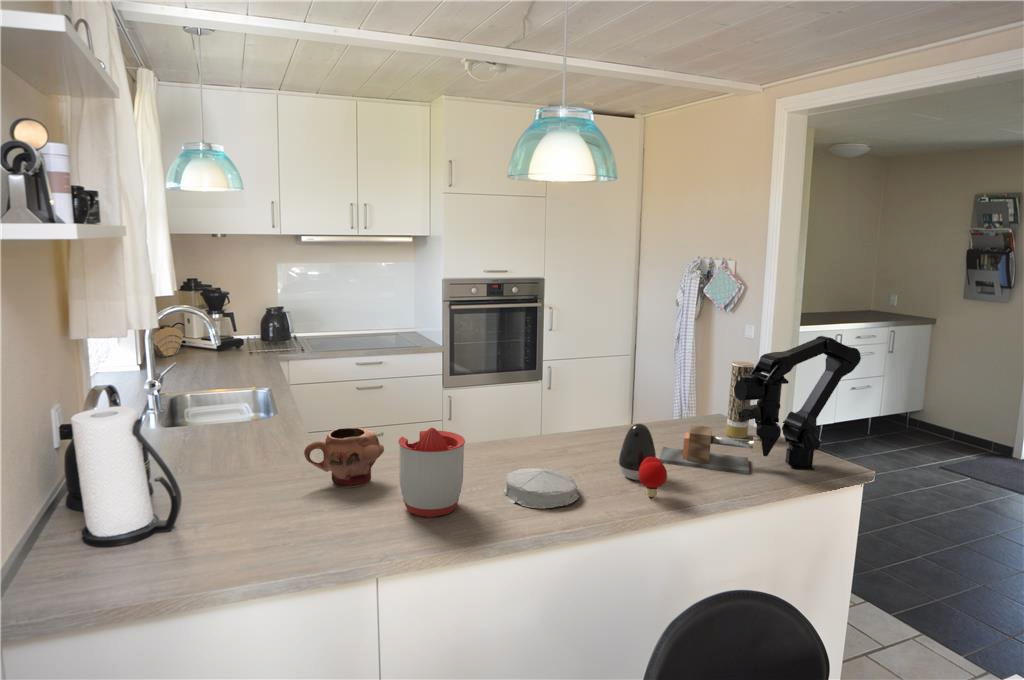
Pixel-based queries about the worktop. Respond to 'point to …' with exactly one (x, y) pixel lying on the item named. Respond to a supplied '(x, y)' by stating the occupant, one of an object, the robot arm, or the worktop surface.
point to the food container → (540, 488)
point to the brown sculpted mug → (348, 455)
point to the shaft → (739, 443)
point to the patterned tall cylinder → (737, 402)
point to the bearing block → (704, 454)
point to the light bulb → (652, 475)
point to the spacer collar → (686, 446)
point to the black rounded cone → (635, 450)
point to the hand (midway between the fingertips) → (764, 451)
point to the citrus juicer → (431, 472)
